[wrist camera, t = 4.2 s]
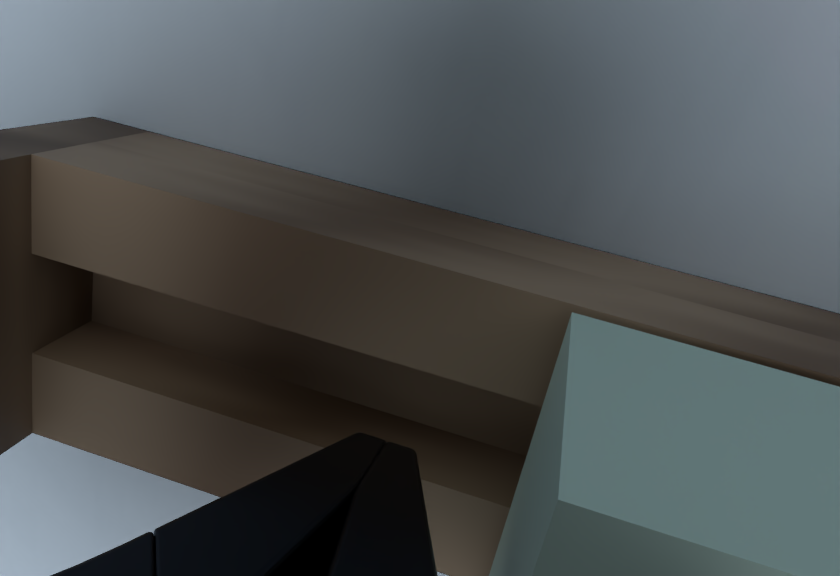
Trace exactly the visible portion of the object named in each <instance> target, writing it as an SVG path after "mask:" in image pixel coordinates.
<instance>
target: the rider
mask: <svg viewBox="0 0 840 576" xmlns="http://www.w3.org/2000/svg"><path fill="white" fill-rule="evenodd" d="M489 576H840V387H839V386H835V385H832V384H828V383H824V382H821V381H817V380H814V379H810V378H807V377H803V376H799V375H796V374H792V373H789V372H785V371H781V370H778V369H774V368H771V367H767V366H763V365H760V364H756V363H753V362H749V361H745V360H742V359H738V358H735V357H731V356H728V355H724V354H720V353H717V352H713V351H710V350H706V349H702V348H699V347H695V346H692V345H688V344H684V343H681V342H677V341H674V340H670V339H667V338H663V337H659V336H656V335H652V334H649V333H645V332H641V331H638V330H634V329H631V328H627V327H623V326H620V325H616V324H613V323H609V322H606V321H602V320H598V319H595V318H591V317H588V316H584V315H580V314H577V313H573V312H572V313H571V317H570V320H569V323H568V326H567V329H566V333H565V336H564V339H563V342H562V345H561V348H560V352H559V355H558V358H557V361H556V364H555V367H554V371H553V374H552V377H551V380H550V383H549V386H548V390H547V393H546V396H545V399H544V402H543V405H542V409H541V412H540V415H539V418H538V421H537V424H536V428H535V431H534V434H533V437H532V440H531V444H530V447H529V450H528V453H527V456H526V459H525V463H524V466H523V469H522V472H521V475H520V478H519V482H518V485H517V488H516V491H515V494H514V497H513V501H512V504H511V507H510V510H509V513H508V516H507V520H506V523H505V526H504V529H503V532H502V535H501V539H500V542H499V545H498V548H497V551H496V555H495V558H494V561H493V564H492V567H491V570H490V574H489Z"/></svg>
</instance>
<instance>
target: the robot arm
mask: <svg viewBox="0 0 840 576" xmlns="http://www.w3.org/2000/svg"><path fill="white" fill-rule="evenodd" d="M51 576H437V570H436V565H435V559H434V553H433V547H432V541H431V535H430V530H429V524H428V518H427V512H426V506H425V500H424V495H423V489H422V483H421V477H420V471H419V465H418V460H417V454H416V452H415V450H414V449H412V448H409V447H406V446H402V445H399V444H396V443H393V442H386V441H385V440H383V439H381V438H377V437H374V436H371V435H368V434H365V433H362V432H358V433H355V434H353V435H351V436H348V437H346V438H344V439H342V440H340V441H338V442H336V443H334V444H332V445H330V446H328V447H326V448H323V449H321V450H319V451H317V452H315V453H313V454H311V455H309V456H307V457H305V458H303V459H300V460H298V461H296V462H294V463H292V464H290V465H288V466H286V467H284V468H282V469H280V470H278V471H275V472H273V473H271V474H269V475H267V476H265V477H263V478H261V479H259V480H257V481H255V482H252V483H250V484H248V485H246V486H244V487H242V488H240V489H238V490H236V491H234V492H232V493H230V494H227V495H225V496H223V497H221V498H219V499H217V500H215V501H213V502H211V503H209V504H207V505H204V506H202V507H200V508H198V509H196V510H194V511H192V512H190V513H188V514H186V515H184V516H182V517H179V518H177V519H175V520H173V521H171V522H169V523H167V524H165V525H163V526H161V527H159V528H157V529H155V531H154V534H153V533H152V532H148V533H145V534H143V535H141V536H139V537H137V538H135V539H133V540H131V541H129V542H127V543H125V544H123V545H120V546H118V547H116V548H114V549H111V550H109V551H107V552H105V553H103V554H100V555H98V556H96V557H94V558H91V559H89V560H87V561H85V562H83V563H80V564H78V565H76V566H73V567H71V568H68V569H66V570H63V571H61V572H58V573H56V574H53V575H51Z"/></svg>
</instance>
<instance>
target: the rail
mask: <svg viewBox="0 0 840 576" xmlns="http://www.w3.org/2000/svg"><path fill="white" fill-rule="evenodd" d="M572 312H573V313H577V314H580V315H584V316H588V317H591V318H595V319H598V320H602V321H606V322H609V323H613V324H616V325H620V326H623V327H627V328H631V329H634V330H638V331H641V332H645V333H649V334H652V335H656V336H659V337H663V338H667V339H670V340H674V341H677V342H681V343H684V344H688V345H692V346H695V347H699V348H702V349H706V350H710V351H713V352H717V353H720V354H724V355H728V356H731V357H735V358H738V359H742V360H745V361H749V362H753V363H756V364H760V365H763V366H767V367H771V368H774V369H778V370H781V371H785V372H789V373H792V374H796V375H799V376H803V377H807V378H810V379H814V380H817V381H821V382H824V383H828V384H832V385H835V386H839V387H840V314H838V313H834V312H830V311H826V310H822V309H819V308H815V307H811V306H807V305H804V304H800V303H796V302H792V301H788V300H785V299H781V298H777V297H773V296H769V295H766V294H762V293H758V292H754V291H751V290H747V289H743V288H739V287H735V286H732V285H728V284H724V283H720V282H716V281H713V280H709V279H705V278H701V277H698V276H694V275H690V274H686V273H682V272H679V271H675V270H671V269H667V268H663V267H660V266H656V265H652V264H648V263H645V262H641V261H637V260H633V259H629V258H626V257H622V256H618V255H614V254H610V253H607V252H603V251H599V250H595V249H592V248H588V247H584V246H580V245H576V244H573V243H569V242H565V241H561V240H557V239H554V238H550V237H546V236H542V235H539V234H535V233H531V232H527V231H523V230H520V229H516V228H512V227H508V226H505V225H501V224H497V223H493V222H489V221H486V220H482V219H478V218H474V217H470V216H467V215H463V214H459V213H455V212H452V211H448V210H444V209H440V208H436V207H433V206H429V205H425V204H421V203H417V202H414V201H410V200H406V199H402V198H399V197H395V196H391V195H387V194H383V193H380V192H376V191H372V190H368V189H364V188H361V187H357V186H353V185H349V184H346V183H342V182H338V181H334V180H330V179H327V178H323V177H319V176H315V175H311V174H308V173H304V172H300V171H296V170H293V169H289V168H285V167H281V166H277V165H274V164H270V163H266V162H262V161H259V160H255V159H251V158H247V157H243V156H240V155H236V154H232V153H228V152H224V151H221V150H217V149H213V148H209V147H206V146H202V145H198V144H194V143H190V142H187V141H183V140H179V139H175V138H171V137H168V136H164V135H160V134H156V133H153V132H149V131H145V130H141V129H137V128H134V127H130V126H126V125H122V124H118V123H115V122H111V121H107V120H103V119H100V118H96V117H88V118H81V119H74V120H67V121H60V122H53V123H45V124H38V125H31V126H24V127H17V128H10V129H3V130H0V455H1V454H2V453H4V452H5V451H7V450H8V449H10V448H11V447H12V446H14V445H15V444H17V443H18V442H20V441H21V440H23V439H24V438H25V437H27V436H28V435H30V434H31V433H35V434H38V435H41V436H43V437H46V438H49V439H52V440H55V441H58V442H61V443H64V444H67V445H70V446H73V447H76V448H79V449H81V450H84V451H87V452H90V453H93V454H96V455H99V456H102V457H105V458H108V459H111V460H114V461H116V462H119V463H122V464H125V465H128V466H131V467H134V468H137V469H140V470H143V471H146V472H149V473H152V474H154V475H157V476H160V477H163V478H166V479H169V480H172V481H175V482H178V483H181V484H184V485H187V486H189V487H192V488H195V489H198V490H201V491H204V492H207V493H210V494H213V495H216V496H219V497H223V496H225V495H227V494H230V493H232V492H234V491H236V490H238V489H240V488H242V487H244V486H246V485H248V484H250V483H252V482H255V481H257V480H259V479H261V478H263V477H265V476H267V475H269V474H271V473H273V472H275V471H278V470H280V469H282V468H284V467H286V466H288V465H290V464H292V463H294V462H296V461H298V460H300V459H303V458H305V457H307V456H309V455H311V454H313V453H315V452H317V451H319V450H321V449H323V448H326V447H328V446H330V445H332V444H334V443H336V442H338V441H340V440H342V439H344V438H346V437H348V436H351V435H353V434H355V433H358V432H362V433H365V434H368V435H371V436H374V437H377V438H381V439H383V440H385V441H386V442H393V443H396V444H399V445H402V446H406V447H409V448H412V449H414V450H415V452H416V454H417V460H418V465H419V471H420V477H421V483H422V489H423V495H424V500H425V506H426V512H427V518H428V524H429V530H430V535H431V541H432V547H433V553H434V559H435V565H436V570H437V571H438V572H441V573H444V574H446V575H449V576H489V574H490V570H491V567H492V564H493V561H494V558H495V555H496V551H497V548H498V545H499V542H500V539H501V535H502V532H503V529H504V526H505V523H506V520H507V516H508V513H509V510H510V507H511V504H512V501H513V497H514V494H515V491H516V488H517V485H518V482H519V478H520V475H521V472H522V469H523V466H524V463H525V459H526V456H527V453H528V450H529V447H530V444H531V440H532V437H533V434H534V431H535V428H536V424H537V421H538V418H539V415H540V412H541V409H542V405H543V402H544V399H545V396H546V393H547V390H548V386H549V383H550V380H551V377H552V374H553V371H554V367H555V364H556V361H557V358H558V355H559V352H560V348H561V345H562V342H563V339H564V336H565V333H566V329H567V326H568V323H569V320H570V317H571V313H572Z"/></svg>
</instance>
